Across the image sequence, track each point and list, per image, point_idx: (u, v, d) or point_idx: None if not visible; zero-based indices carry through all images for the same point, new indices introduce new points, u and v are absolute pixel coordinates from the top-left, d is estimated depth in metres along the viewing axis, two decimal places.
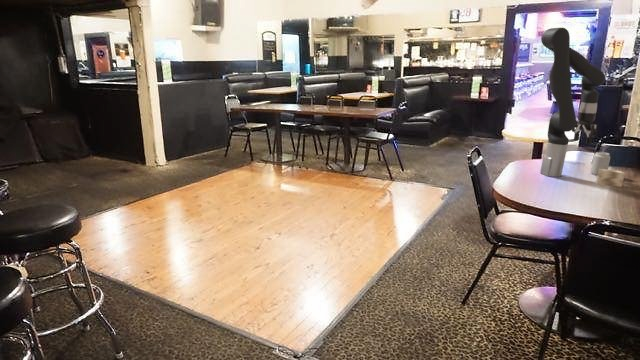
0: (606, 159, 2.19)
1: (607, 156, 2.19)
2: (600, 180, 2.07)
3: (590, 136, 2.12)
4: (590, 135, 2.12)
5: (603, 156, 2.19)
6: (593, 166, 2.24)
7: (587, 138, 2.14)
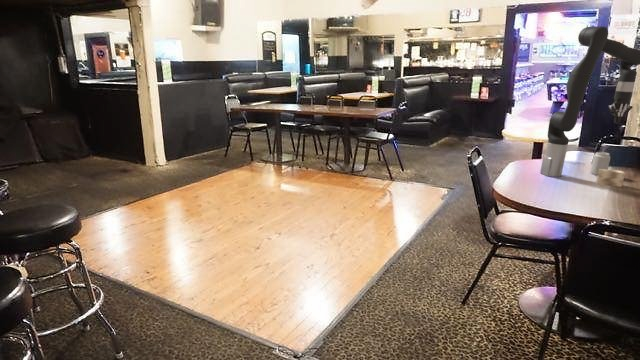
0: (606, 159, 2.19)
1: (607, 156, 2.19)
2: (600, 180, 2.07)
3: (622, 115, 2.23)
4: (625, 114, 2.22)
5: (603, 156, 2.19)
6: (593, 166, 2.24)
7: (620, 117, 2.23)
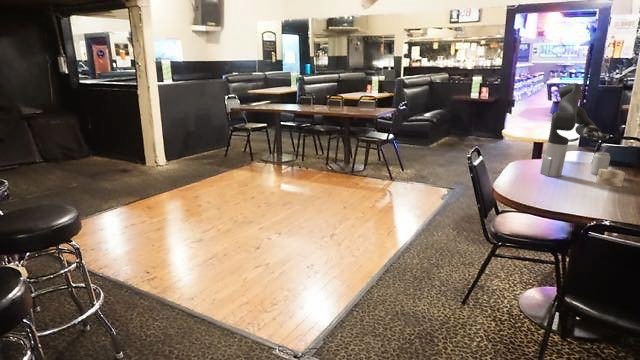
0: (606, 159, 2.19)
1: (607, 156, 2.19)
2: (600, 180, 2.07)
3: (602, 136, 2.32)
4: (603, 134, 2.32)
5: (603, 156, 2.19)
6: (593, 166, 2.24)
7: (600, 135, 2.31)
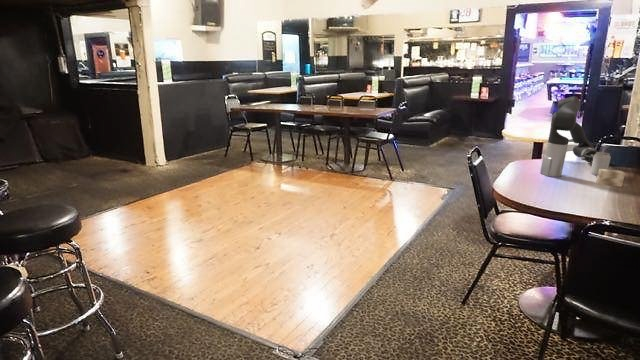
0: (606, 159, 2.19)
1: (607, 156, 2.19)
2: (600, 180, 2.07)
3: None
4: None
5: (603, 156, 2.19)
6: (593, 166, 2.23)
7: None
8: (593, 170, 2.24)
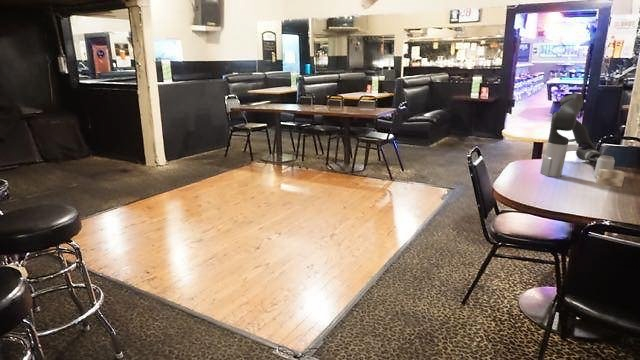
0: (609, 163, 2.11)
1: (611, 160, 2.11)
2: (600, 180, 2.07)
3: None
4: None
5: (606, 160, 2.12)
6: (596, 170, 2.16)
7: None
8: (596, 174, 2.17)
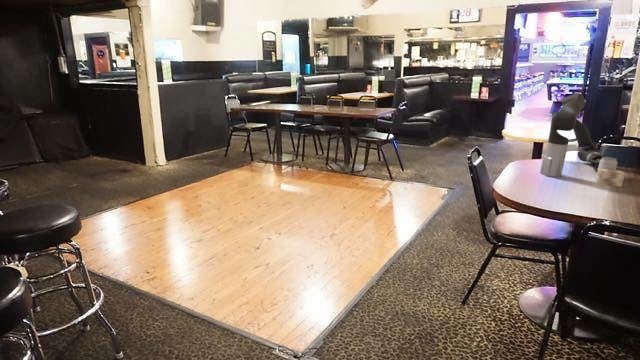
0: (612, 165, 2.08)
1: (613, 162, 2.08)
2: (600, 180, 2.07)
3: None
4: None
5: (609, 161, 2.08)
6: None
7: None
8: None
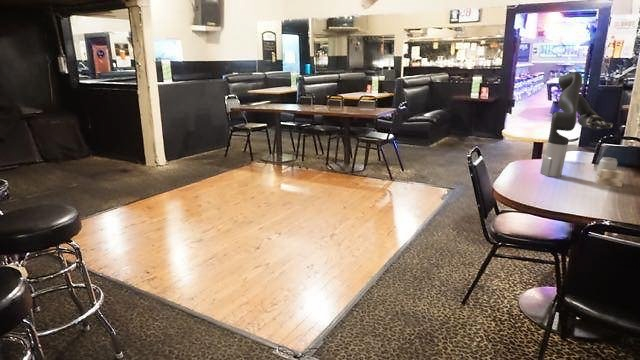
0: (612, 165, 2.08)
1: (613, 162, 2.08)
2: (600, 180, 2.07)
3: (606, 124, 2.27)
4: (607, 123, 2.28)
5: (609, 161, 2.08)
6: None
7: (604, 124, 2.27)
8: None
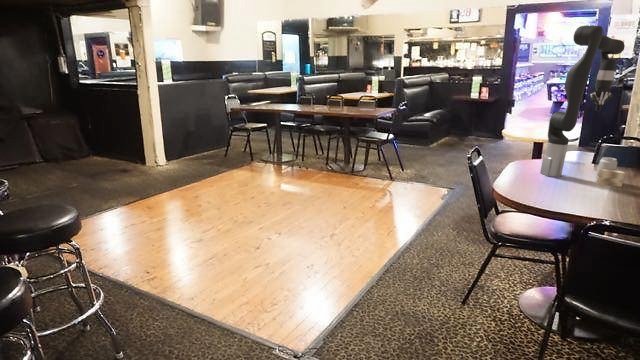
0: (612, 165, 2.08)
1: (613, 162, 2.08)
2: (600, 180, 2.07)
3: (603, 103, 2.30)
4: (605, 102, 2.29)
5: (609, 161, 2.08)
6: None
7: (601, 105, 2.30)
8: None
